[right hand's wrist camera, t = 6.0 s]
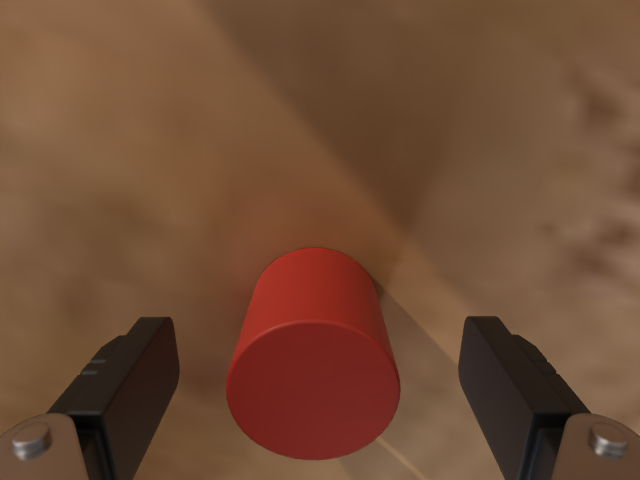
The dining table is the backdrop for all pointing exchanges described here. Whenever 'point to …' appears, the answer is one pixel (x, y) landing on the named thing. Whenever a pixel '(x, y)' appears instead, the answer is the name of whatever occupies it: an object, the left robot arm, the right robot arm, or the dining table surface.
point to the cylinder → (313, 359)
